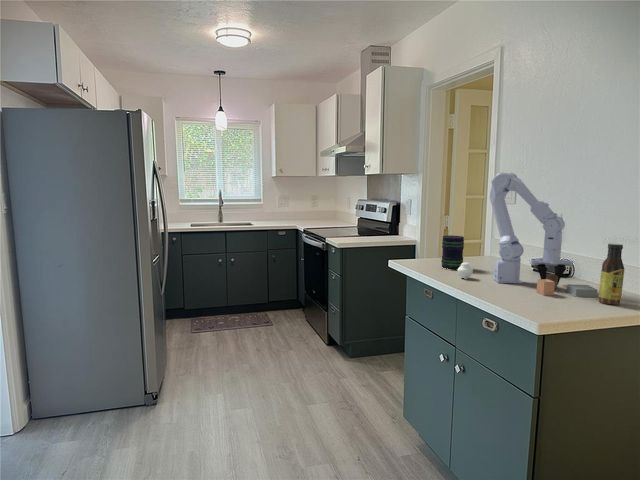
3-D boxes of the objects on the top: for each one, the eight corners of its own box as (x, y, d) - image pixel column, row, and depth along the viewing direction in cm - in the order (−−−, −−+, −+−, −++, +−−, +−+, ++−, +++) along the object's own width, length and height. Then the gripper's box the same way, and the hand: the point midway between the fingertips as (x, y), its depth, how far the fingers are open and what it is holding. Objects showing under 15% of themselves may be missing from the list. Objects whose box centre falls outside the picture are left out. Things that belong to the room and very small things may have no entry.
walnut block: (545, 288, 159) (546, 275, 159) (541, 286, 163) (542, 273, 162) (557, 289, 159) (558, 276, 158) (552, 286, 162) (553, 274, 162)
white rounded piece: (467, 280, 173) (468, 263, 172) (454, 278, 177) (455, 261, 176) (475, 278, 177) (476, 262, 176) (462, 276, 181) (462, 260, 180)
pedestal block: (575, 297, 149) (576, 289, 148) (566, 292, 156) (567, 284, 155) (596, 297, 148) (597, 289, 148) (586, 292, 155) (587, 284, 154)
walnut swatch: (568, 288, 159) (568, 287, 159) (562, 285, 164) (562, 284, 164) (582, 289, 159) (582, 288, 159) (576, 286, 163) (576, 285, 163)
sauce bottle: (613, 306, 136) (619, 245, 134) (593, 301, 142) (599, 243, 139) (625, 304, 139) (631, 244, 137) (605, 299, 145) (610, 242, 142)
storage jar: (465, 270, 194) (467, 238, 192) (444, 270, 194) (445, 238, 192) (459, 266, 204) (460, 235, 202) (438, 266, 204) (439, 235, 202)
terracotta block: (543, 295, 150) (544, 281, 149) (536, 292, 154) (537, 279, 153) (553, 295, 150) (554, 281, 149) (546, 292, 154) (547, 279, 153)
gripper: (535, 250, 156) (532, 285, 158) (577, 251, 154) (574, 287, 156) (529, 247, 163) (526, 281, 165) (569, 248, 161) (566, 282, 163)
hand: (549, 284), depth 161 cm, fingers closed on walnut block, 4 cm apart
